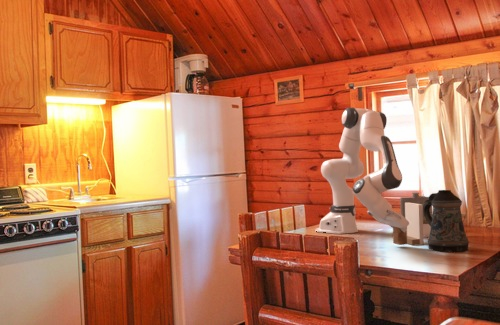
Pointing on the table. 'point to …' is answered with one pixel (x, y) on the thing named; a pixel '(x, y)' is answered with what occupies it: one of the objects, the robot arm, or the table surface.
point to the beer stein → (445, 223)
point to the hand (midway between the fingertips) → (401, 230)
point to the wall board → (414, 223)
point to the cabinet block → (399, 236)
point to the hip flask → (414, 199)
